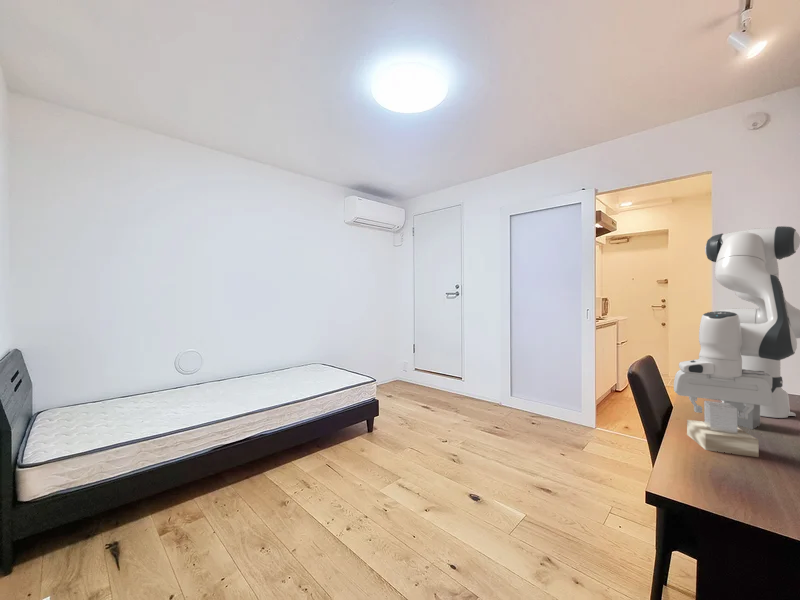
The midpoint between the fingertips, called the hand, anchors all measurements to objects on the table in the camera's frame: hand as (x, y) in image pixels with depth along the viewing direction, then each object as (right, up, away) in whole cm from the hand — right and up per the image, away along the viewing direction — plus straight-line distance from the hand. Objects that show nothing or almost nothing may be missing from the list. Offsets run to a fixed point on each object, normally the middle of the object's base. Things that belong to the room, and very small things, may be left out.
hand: (719, 415), depth 91 cm
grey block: (0, -4, 0) cm, 4 cm away
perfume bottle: (+24, -9, +16) cm, 30 cm away
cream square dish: (0, -9, 0) cm, 9 cm away
